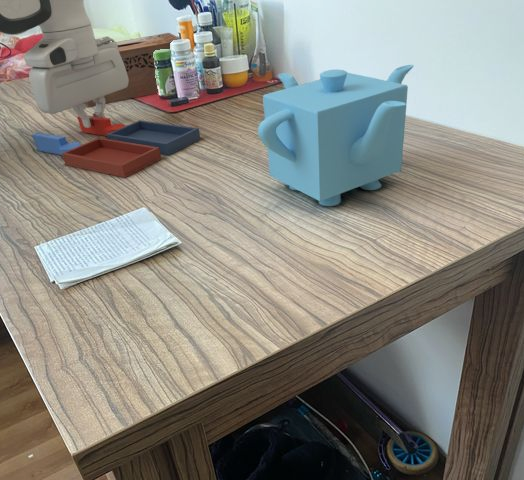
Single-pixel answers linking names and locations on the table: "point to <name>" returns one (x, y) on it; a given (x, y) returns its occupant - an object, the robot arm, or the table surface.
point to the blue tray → (157, 135)
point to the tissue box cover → (139, 66)
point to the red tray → (112, 156)
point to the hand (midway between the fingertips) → (95, 124)
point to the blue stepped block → (53, 143)
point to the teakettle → (335, 132)
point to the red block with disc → (100, 126)
